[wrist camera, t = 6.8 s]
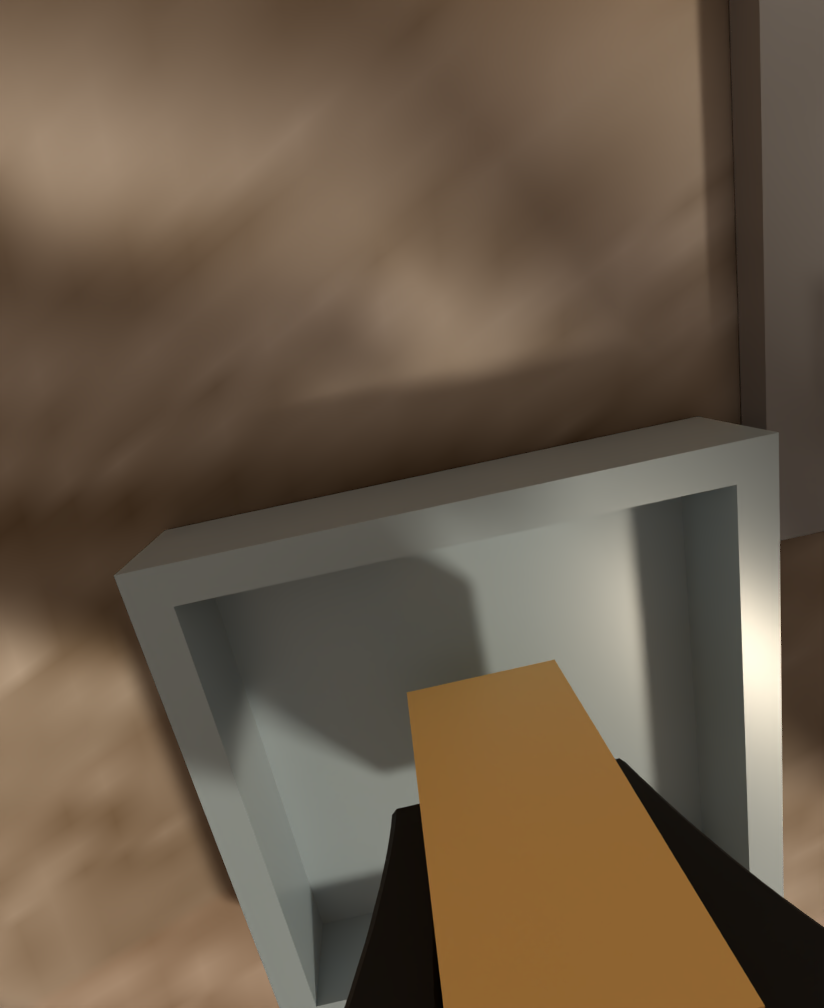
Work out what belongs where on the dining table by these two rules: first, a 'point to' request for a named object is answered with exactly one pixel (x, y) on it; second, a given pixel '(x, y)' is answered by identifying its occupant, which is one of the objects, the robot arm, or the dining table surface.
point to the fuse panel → (782, 239)
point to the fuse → (552, 860)
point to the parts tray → (466, 656)
